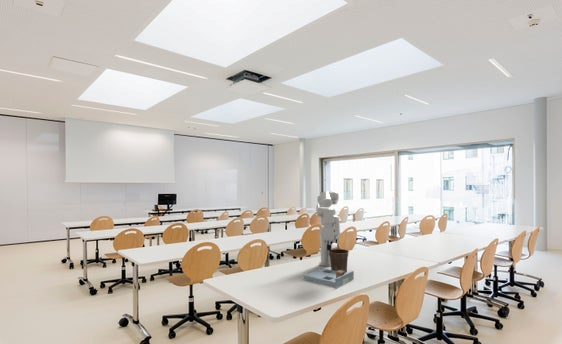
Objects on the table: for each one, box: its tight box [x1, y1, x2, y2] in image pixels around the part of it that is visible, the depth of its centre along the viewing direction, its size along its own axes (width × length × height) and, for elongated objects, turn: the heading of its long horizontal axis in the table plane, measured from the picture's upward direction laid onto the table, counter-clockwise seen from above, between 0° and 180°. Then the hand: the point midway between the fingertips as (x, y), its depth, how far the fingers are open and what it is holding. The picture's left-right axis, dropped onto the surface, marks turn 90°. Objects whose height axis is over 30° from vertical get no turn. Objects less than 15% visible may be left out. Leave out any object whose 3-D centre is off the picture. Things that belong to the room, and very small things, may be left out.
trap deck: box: [303, 268, 355, 288], centre depth 225 cm, size 24×28×6 cm
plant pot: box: [328, 248, 350, 273], centre depth 245 cm, size 16×16×16 cm
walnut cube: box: [336, 270, 345, 278], centre depth 218 cm, size 4×4×4 cm
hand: (329, 250), depth 226 cm, fingers closed
